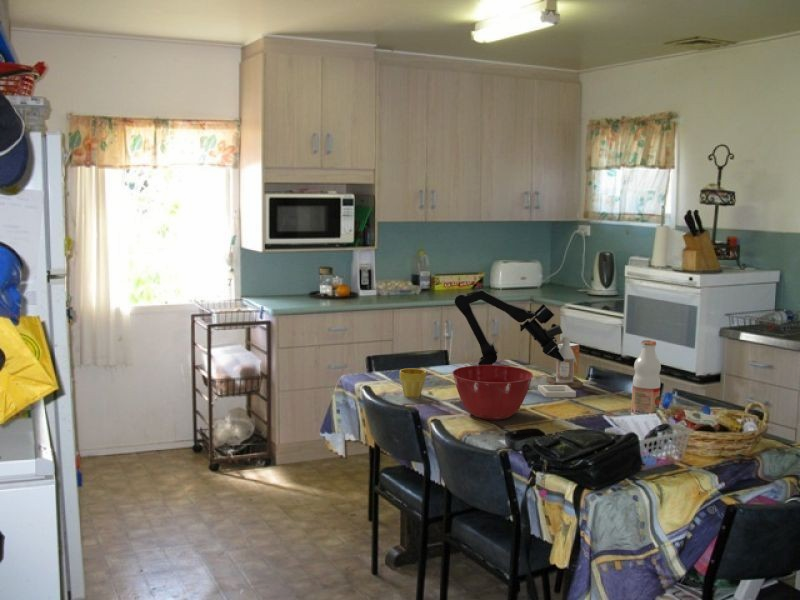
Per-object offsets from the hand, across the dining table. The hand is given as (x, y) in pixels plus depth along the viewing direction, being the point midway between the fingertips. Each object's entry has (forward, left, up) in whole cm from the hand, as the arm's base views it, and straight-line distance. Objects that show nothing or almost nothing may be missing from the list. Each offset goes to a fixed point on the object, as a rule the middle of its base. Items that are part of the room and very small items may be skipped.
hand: (563, 358), depth 346 cm
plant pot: (-65, -18, -11) cm, 68 cm away
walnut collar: (+1, 0, -11) cm, 11 cm away
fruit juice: (+14, -54, -11) cm, 57 cm away
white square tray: (-7, -16, -11) cm, 21 cm away
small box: (+9, +22, -11) cm, 26 cm away
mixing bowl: (-40, -47, -11) cm, 63 cm away
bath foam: (+1, 0, -11) cm, 11 cm away
